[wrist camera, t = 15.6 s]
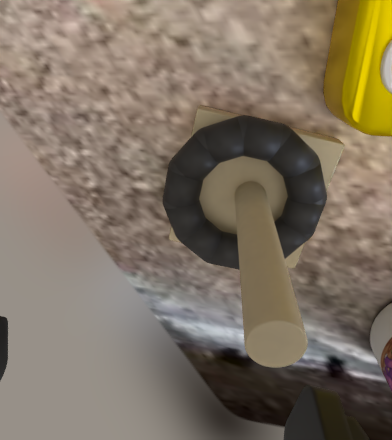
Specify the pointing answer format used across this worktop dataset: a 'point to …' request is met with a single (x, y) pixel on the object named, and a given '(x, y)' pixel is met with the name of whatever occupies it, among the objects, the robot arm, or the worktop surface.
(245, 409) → the worktop surface
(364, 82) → the element tile
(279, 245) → the stand
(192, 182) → the ring
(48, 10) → the worktop surface
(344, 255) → the worktop surface
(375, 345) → the milk bottle
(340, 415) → the robot arm
